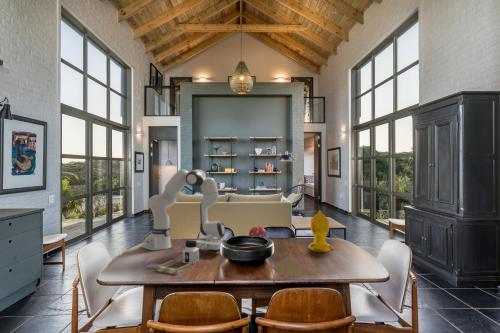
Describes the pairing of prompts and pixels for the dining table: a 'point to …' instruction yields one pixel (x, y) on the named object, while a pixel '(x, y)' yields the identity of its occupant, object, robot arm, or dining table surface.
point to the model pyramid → (290, 267)
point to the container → (191, 252)
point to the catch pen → (169, 270)
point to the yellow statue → (319, 233)
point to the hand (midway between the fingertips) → (200, 247)
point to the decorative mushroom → (257, 231)
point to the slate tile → (152, 266)
